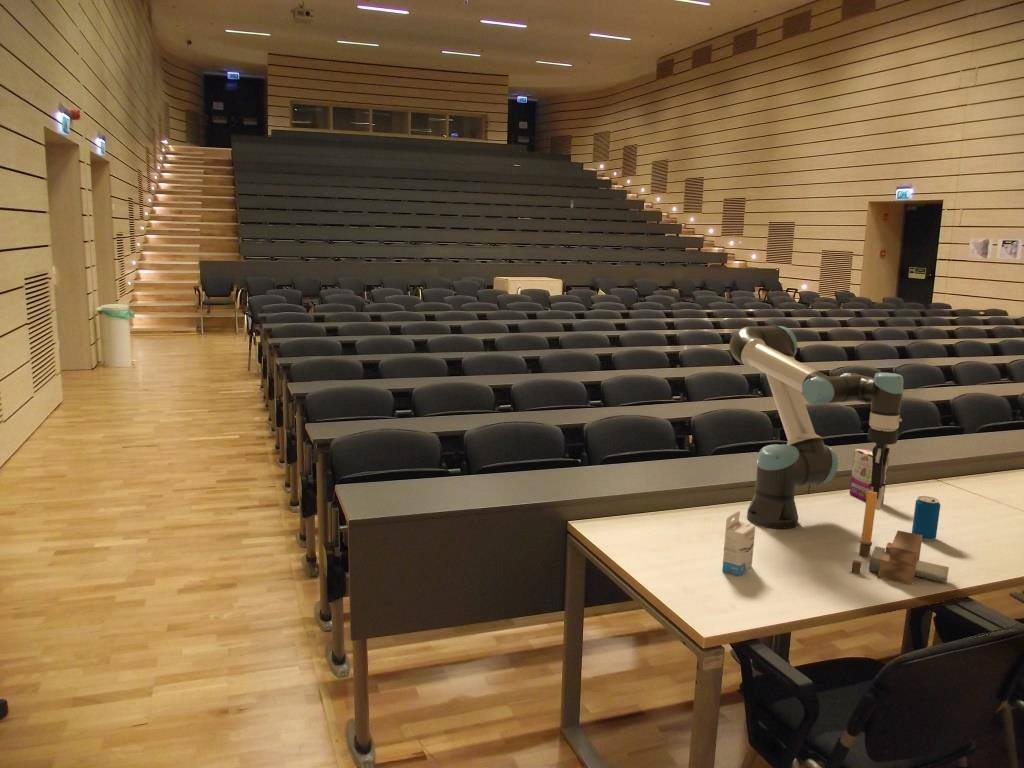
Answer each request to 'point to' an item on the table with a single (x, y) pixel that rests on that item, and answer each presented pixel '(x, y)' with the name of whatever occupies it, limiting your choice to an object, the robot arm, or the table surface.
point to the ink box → (738, 545)
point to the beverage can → (926, 517)
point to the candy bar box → (863, 474)
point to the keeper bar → (869, 518)
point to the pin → (921, 569)
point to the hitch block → (896, 558)
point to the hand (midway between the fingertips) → (874, 508)
